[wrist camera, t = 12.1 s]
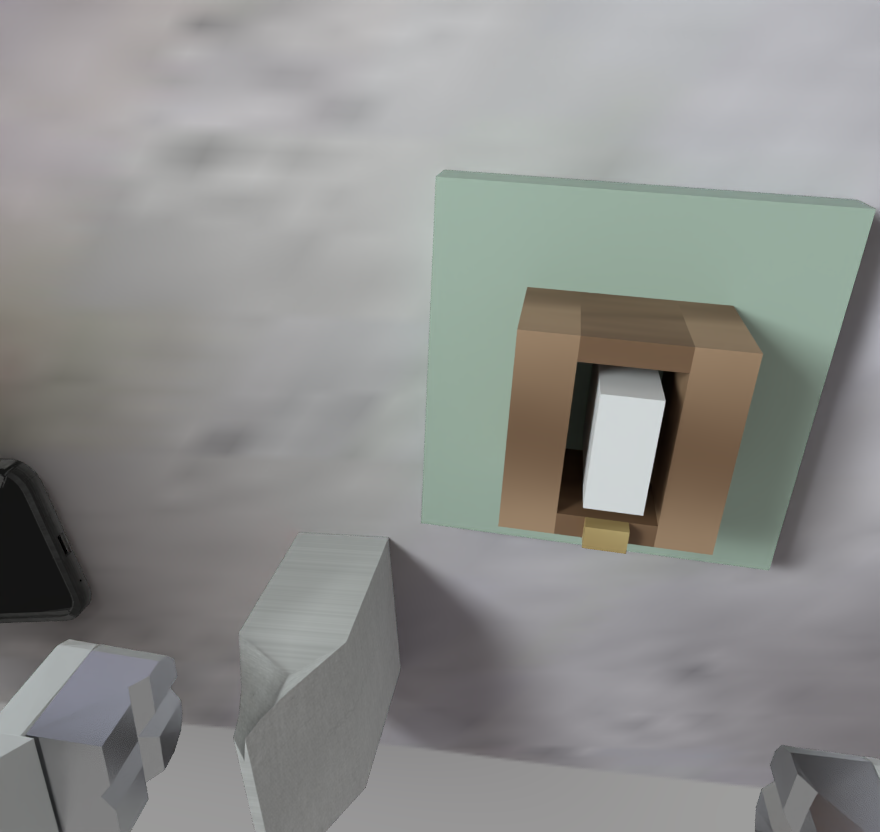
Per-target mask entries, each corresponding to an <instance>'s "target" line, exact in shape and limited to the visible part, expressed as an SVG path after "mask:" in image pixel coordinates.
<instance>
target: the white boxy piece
mask: <svg viewBox="0 0 880 832" xmlns="http://www.w3.org/2000/svg"><path fill="white" fill-rule="evenodd" d="M239 647H240V669H241V698H240V710H239V718H238V722H237V725H236V729H235V733H234V737H233V739H234V743H235V748H236V752H237V756H238V761H239V765H240V770H241V774H242V778H243V782H244V787H245V791H246V795H247V799H248V804H249V809H250V813H251V817H252V822H253V826H254V830H255V832H326V831H327V829H328V828H329V827H330V826H331V825H332V824H333V823H334V822H335V821H336V820H337V818H338V817H339V816H340V815H341V814H342V813H343V812H344V811H345V810H346V808H347V807H348V806H349V805H350V804H351V803H352V802H353V801H354V800H355V799H356V798H357V796H358V795H359V794H360V793H361V792H362V791H363V790H364V789H365V788H366V784H367V781H368V777H369V774H370V771H371V768H372V764H373V761H374V757H375V754H376V750H377V747H378V744H379V741H380V737H381V734H382V730H383V727H384V724H385V720H386V717H387V714H388V710H389V707H390V703H391V700H392V697H393V693H394V690H395V687H396V683H397V680H398V676H399V673H400V670H401V665H400V655H399V644H398V633H397V623H396V612H395V601H394V591H393V580H392V570H391V559H390V548H389V538H388V537H374V536H356V535H338V534H321V533H303V532H299V533H298V535H297V536H296V538H295V540H294V541H293V543H292V545H291V546H290V548H289V550H288V552H287V553H286V555H285V557H284V558H283V560H282V562H281V563H280V565H279V567H278V568H277V570H276V572H275V573H274V575H273V577H272V578H271V580H270V582H269V583H268V585H267V587H266V588H265V590H264V592H263V593H262V595H261V597H260V598H259V600H258V602H257V603H256V605H255V607H254V608H253V610H252V612H251V613H250V615H249V617H248V618H247V620H246V622H245V624H244V625H243V627H242V629H241V630H240V632H239Z"/></svg>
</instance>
